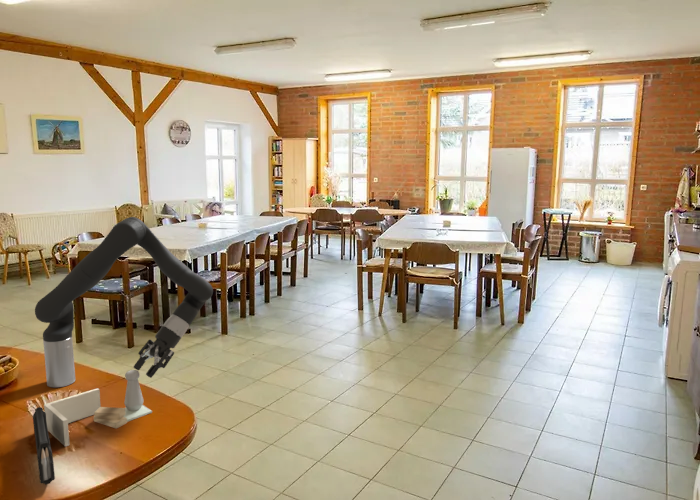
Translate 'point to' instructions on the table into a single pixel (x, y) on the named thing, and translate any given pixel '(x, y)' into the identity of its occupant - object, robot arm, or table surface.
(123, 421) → the block
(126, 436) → the table surface
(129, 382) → the salt shaker
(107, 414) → the offcut short
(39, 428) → the magazine
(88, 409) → the bracket
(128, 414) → the tile
